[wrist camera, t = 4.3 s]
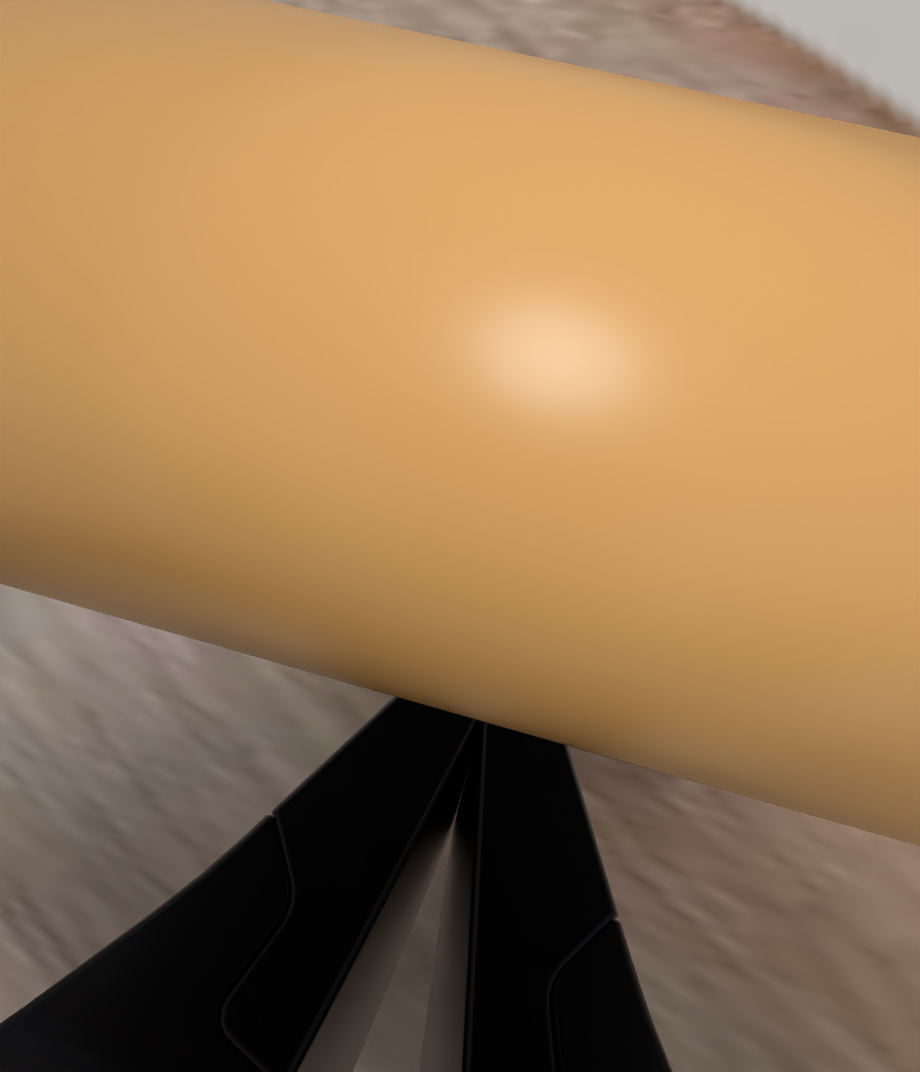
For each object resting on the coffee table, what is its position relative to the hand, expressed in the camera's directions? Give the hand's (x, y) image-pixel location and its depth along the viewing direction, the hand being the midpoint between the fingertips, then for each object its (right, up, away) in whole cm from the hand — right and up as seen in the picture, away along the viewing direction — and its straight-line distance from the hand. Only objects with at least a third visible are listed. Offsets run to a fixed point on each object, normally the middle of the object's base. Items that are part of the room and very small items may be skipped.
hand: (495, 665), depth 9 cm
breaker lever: (+2, +5, +5) cm, 8 cm away
